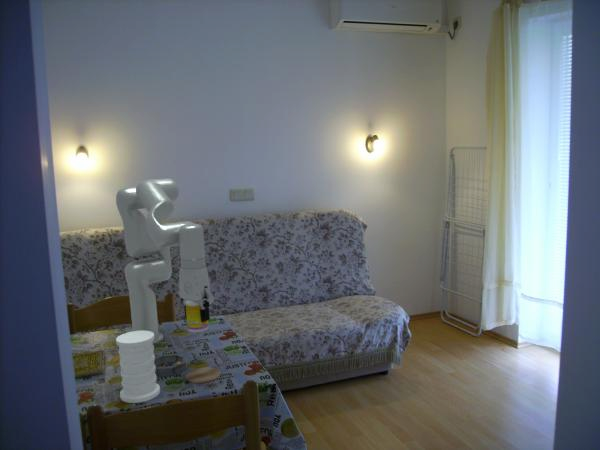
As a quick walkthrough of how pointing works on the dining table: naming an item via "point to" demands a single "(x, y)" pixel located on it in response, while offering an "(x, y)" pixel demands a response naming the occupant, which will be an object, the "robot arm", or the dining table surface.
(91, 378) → the dining table surface
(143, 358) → the decorative container
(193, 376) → the coaster
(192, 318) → the supplement bottle
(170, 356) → the collar
